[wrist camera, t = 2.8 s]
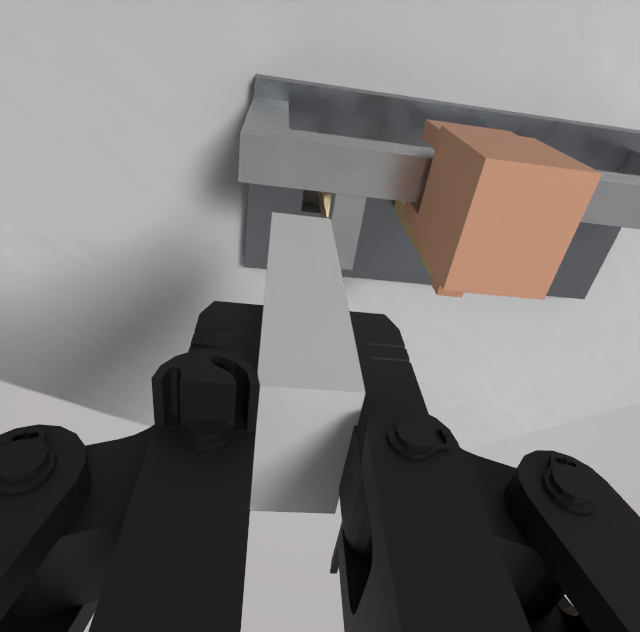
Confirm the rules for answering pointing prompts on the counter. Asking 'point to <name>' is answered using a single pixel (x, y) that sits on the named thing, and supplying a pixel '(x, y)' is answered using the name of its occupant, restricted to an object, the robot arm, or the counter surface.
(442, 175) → the block
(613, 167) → the bolt plate
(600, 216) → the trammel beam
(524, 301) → the counter surface
